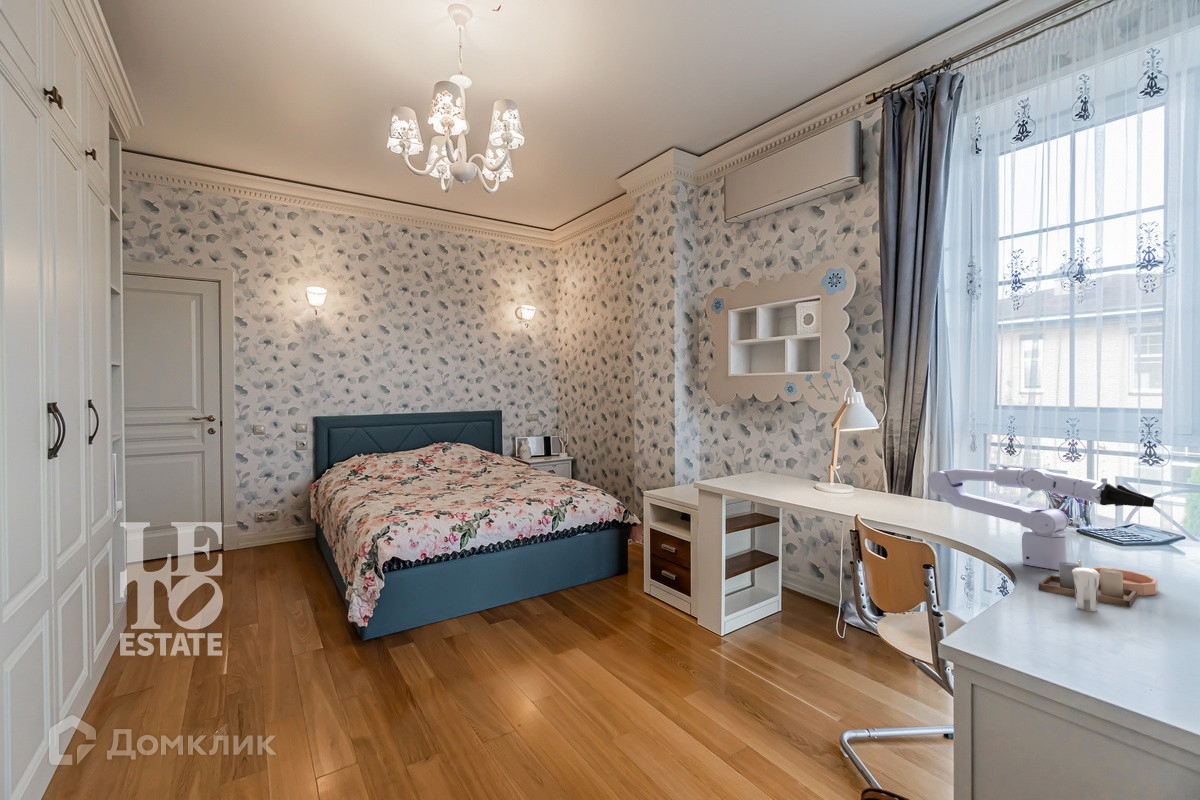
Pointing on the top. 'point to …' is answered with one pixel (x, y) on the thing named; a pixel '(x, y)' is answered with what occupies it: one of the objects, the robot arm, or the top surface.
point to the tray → (1130, 596)
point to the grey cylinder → (1067, 574)
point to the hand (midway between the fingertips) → (1148, 502)
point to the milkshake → (1086, 588)
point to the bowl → (1136, 582)
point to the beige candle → (1111, 583)
